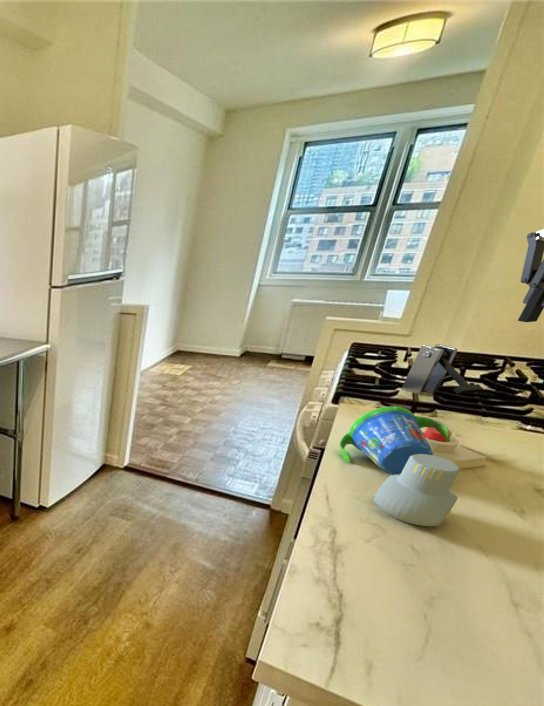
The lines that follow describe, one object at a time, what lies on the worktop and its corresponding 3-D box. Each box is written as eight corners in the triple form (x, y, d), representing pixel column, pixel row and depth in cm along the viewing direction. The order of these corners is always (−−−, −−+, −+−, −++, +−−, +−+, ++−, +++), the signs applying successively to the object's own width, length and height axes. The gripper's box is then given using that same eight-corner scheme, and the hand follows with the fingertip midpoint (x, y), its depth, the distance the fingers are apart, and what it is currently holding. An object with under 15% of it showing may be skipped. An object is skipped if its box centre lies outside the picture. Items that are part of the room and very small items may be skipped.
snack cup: (347, 455, 89) (326, 423, 97) (360, 493, 94) (339, 459, 101) (460, 423, 81) (428, 391, 89) (468, 466, 85) (437, 433, 93)
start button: (452, 442, 94) (457, 434, 93) (436, 443, 93) (441, 435, 92) (433, 433, 97) (437, 426, 96) (418, 435, 96) (422, 427, 95)
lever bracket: (456, 403, 118) (483, 353, 112) (424, 406, 117) (450, 355, 111) (407, 386, 129) (430, 339, 123) (378, 388, 128) (399, 341, 121)
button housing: (480, 467, 92) (492, 449, 90) (436, 472, 91) (446, 453, 89) (417, 439, 103) (426, 422, 101) (376, 443, 101) (385, 425, 99)
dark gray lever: (475, 394, 113) (485, 387, 111) (455, 395, 112) (465, 389, 110) (437, 352, 120) (446, 345, 118) (418, 354, 119) (427, 347, 117)
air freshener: (428, 540, 74) (461, 485, 69) (363, 514, 80) (389, 462, 75) (448, 514, 79) (480, 462, 74) (386, 492, 85) (412, 442, 80)
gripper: (536, 194, 95) (476, 315, 106) (631, 194, 84) (553, 329, 95) (565, 193, 96) (503, 313, 107) (663, 193, 85) (582, 327, 96)
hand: (527, 320), depth 101 cm, fingers closed
